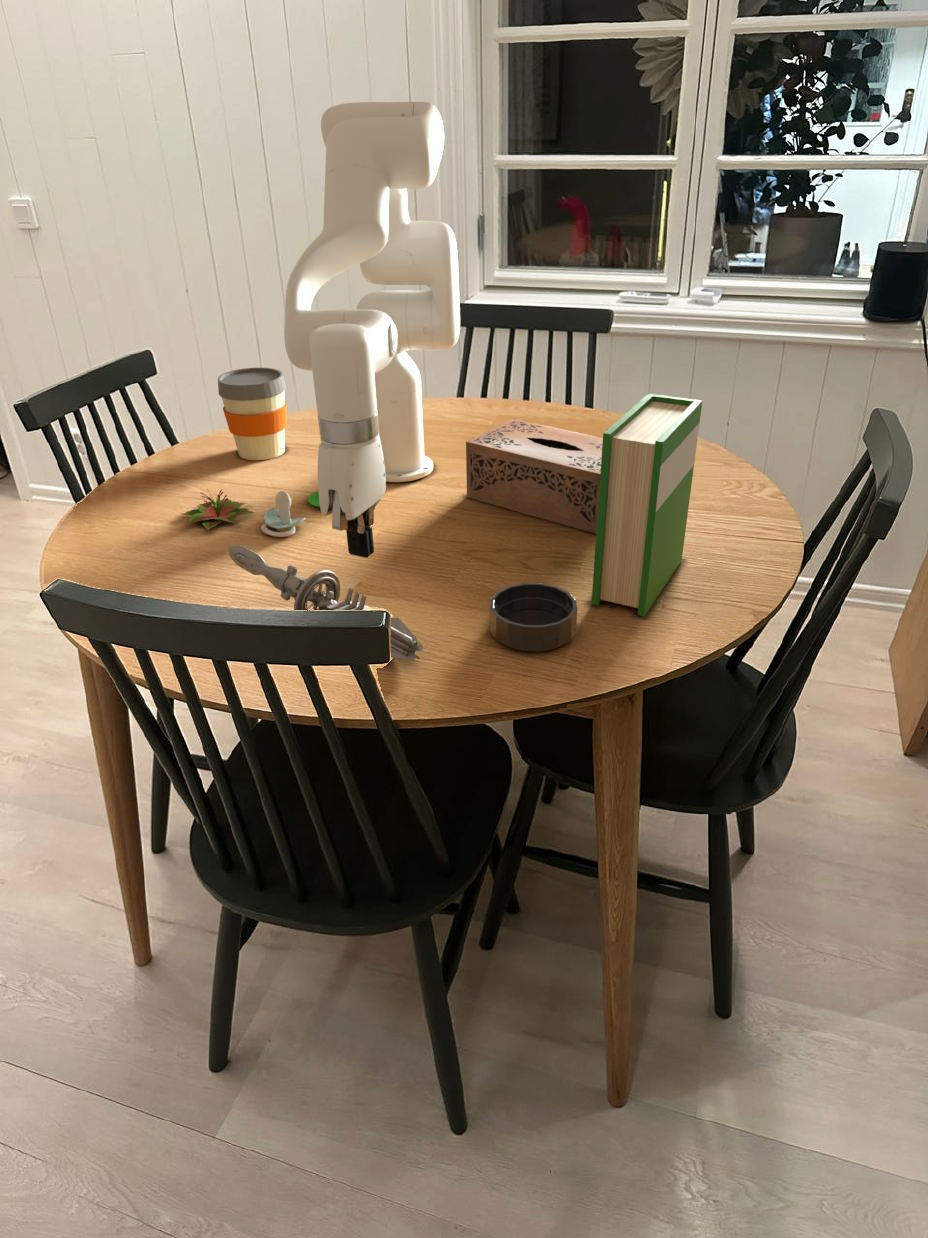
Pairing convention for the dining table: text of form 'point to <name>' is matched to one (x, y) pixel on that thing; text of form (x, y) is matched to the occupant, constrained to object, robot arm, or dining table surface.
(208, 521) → the lily flower
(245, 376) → the reusable coffee cup
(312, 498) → the green plate with lemon
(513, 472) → the tissue box cover
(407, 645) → the spaceship
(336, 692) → the dining table surface
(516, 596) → the ashtray
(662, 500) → the hardback book
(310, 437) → the dining table surface
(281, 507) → the pacifier
